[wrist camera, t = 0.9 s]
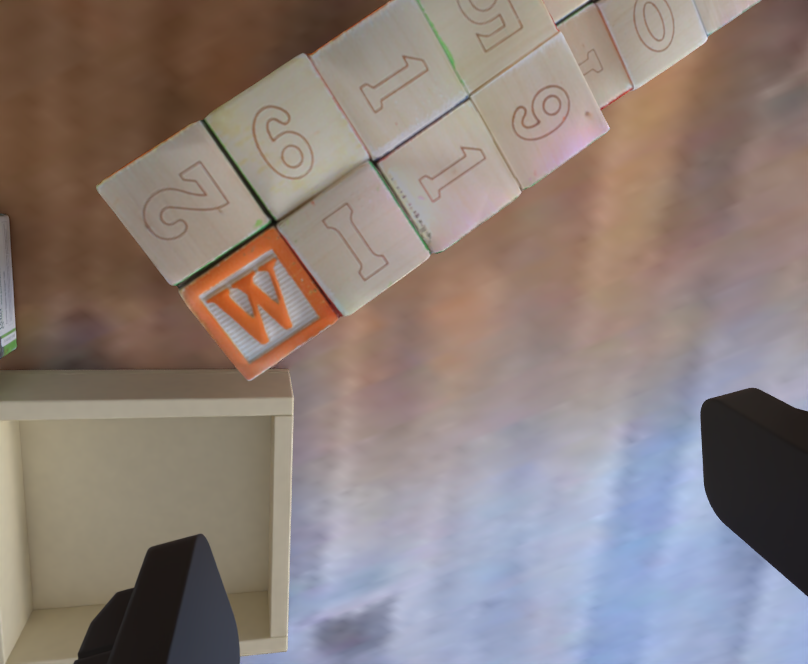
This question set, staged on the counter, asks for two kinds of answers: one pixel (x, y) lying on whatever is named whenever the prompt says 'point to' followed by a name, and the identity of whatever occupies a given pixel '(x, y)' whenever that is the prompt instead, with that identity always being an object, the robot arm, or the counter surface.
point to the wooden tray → (139, 496)
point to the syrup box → (6, 291)
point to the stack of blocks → (383, 153)
